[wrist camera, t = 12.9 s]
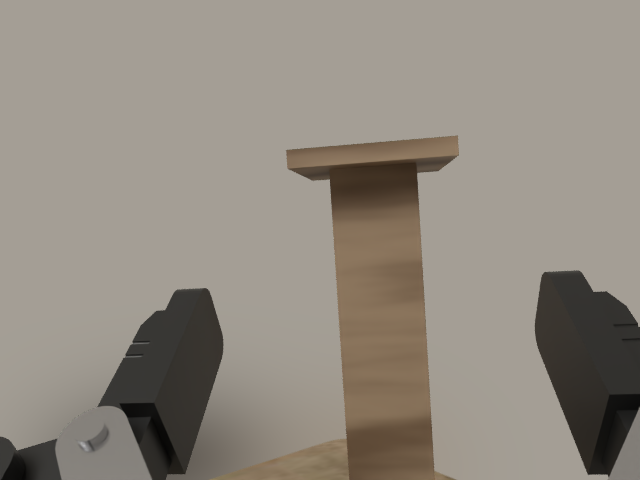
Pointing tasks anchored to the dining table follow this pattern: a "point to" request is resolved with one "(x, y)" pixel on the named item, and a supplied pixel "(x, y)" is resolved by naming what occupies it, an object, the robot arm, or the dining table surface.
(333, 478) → the dining table surface
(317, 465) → the dining table surface
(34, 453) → the robot arm
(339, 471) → the dining table surface
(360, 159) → the shelf stand
